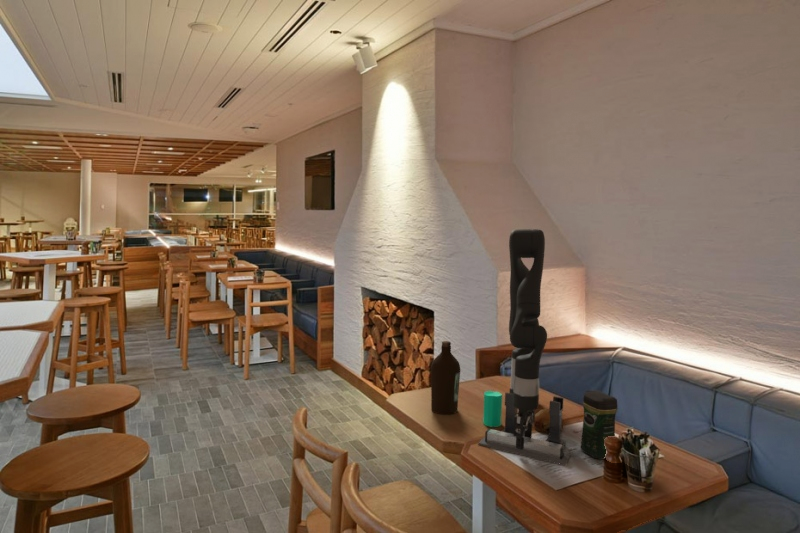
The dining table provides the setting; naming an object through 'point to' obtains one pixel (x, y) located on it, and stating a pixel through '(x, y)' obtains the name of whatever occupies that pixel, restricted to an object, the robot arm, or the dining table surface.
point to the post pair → (554, 412)
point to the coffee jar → (597, 422)
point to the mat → (525, 452)
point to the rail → (525, 443)
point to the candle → (492, 408)
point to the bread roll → (543, 421)
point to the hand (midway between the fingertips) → (523, 443)
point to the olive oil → (445, 381)
